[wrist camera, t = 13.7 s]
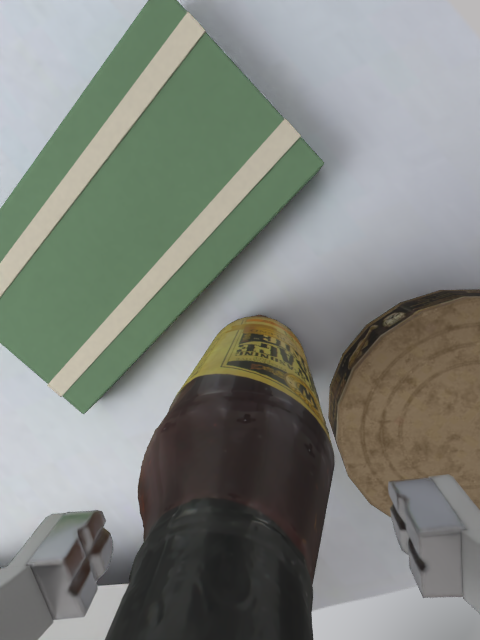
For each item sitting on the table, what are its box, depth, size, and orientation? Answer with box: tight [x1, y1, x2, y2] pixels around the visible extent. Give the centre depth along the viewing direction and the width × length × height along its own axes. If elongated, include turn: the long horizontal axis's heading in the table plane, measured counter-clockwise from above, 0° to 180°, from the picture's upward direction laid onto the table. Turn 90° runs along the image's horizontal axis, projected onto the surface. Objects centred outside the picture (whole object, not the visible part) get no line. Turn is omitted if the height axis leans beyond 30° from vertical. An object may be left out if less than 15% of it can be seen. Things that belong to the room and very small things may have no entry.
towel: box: [0, 0, 324, 414], centre depth 20 cm, size 22×12×2 cm, turn 135°
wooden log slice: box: [329, 290, 480, 517], centre depth 21 cm, size 16×16×3 cm
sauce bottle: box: [105, 315, 335, 640], centre depth 13 cm, size 6×6×20 cm
